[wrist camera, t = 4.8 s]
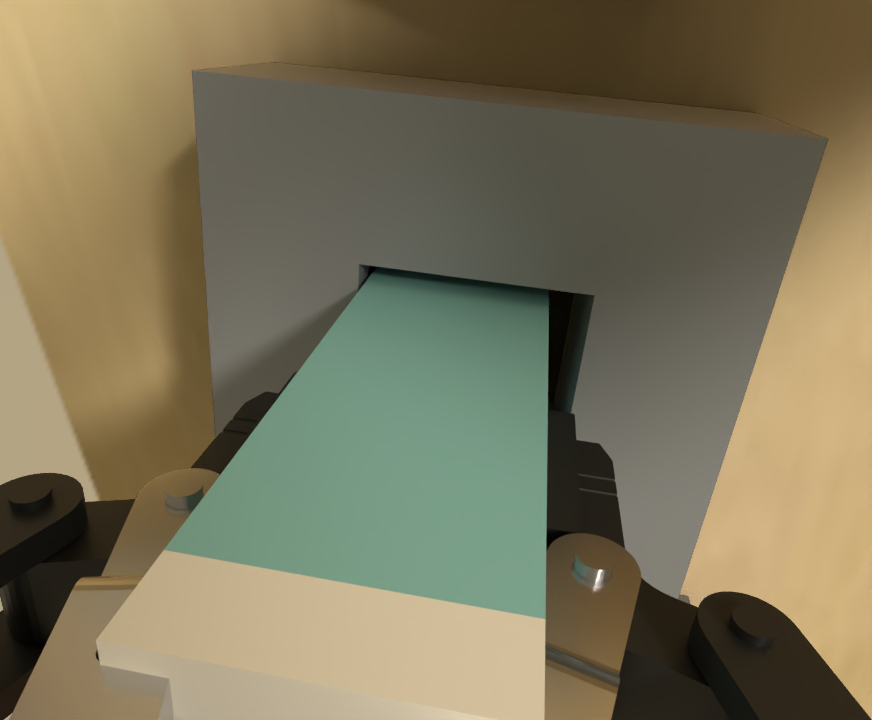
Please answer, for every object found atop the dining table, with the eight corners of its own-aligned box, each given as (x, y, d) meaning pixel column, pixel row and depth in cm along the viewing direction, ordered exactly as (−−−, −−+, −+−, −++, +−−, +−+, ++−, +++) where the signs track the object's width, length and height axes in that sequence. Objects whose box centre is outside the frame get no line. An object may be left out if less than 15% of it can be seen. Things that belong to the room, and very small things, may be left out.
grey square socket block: (759, 113, 16) (828, 139, 12) (647, 514, 22) (669, 624, 18) (274, 62, 17) (191, 70, 13) (280, 454, 23) (222, 544, 19)
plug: (549, 261, 18) (544, 728, 6) (526, 397, 19) (487, 968, 7) (396, 241, 18) (95, 640, 6) (387, 376, 20) (140, 888, 8)
